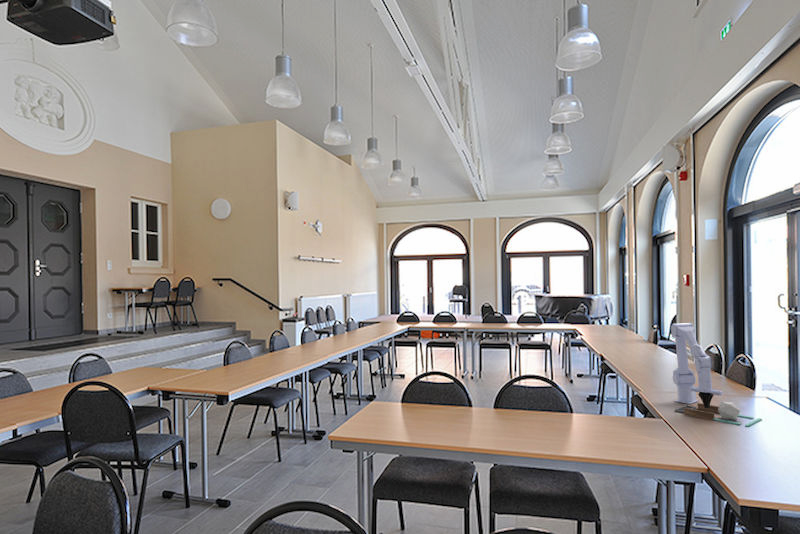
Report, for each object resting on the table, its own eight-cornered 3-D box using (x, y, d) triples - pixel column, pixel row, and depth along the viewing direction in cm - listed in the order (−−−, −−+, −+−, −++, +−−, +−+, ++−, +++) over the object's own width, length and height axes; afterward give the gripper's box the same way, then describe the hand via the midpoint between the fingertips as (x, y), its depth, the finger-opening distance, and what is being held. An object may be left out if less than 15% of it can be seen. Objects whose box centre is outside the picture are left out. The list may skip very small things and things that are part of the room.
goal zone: (727, 413, 226) (727, 412, 226) (761, 420, 214) (761, 418, 214) (713, 420, 218) (713, 418, 218) (748, 426, 206) (748, 425, 206)
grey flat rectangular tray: (686, 407, 241) (686, 405, 241) (696, 408, 237) (696, 406, 237) (674, 411, 235) (674, 409, 235) (685, 413, 230) (684, 411, 230)
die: (739, 418, 220) (724, 400, 226) (748, 414, 213) (732, 395, 218) (725, 425, 220) (710, 407, 225) (733, 421, 213) (717, 402, 218)
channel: (699, 408, 237) (698, 402, 237) (727, 413, 226) (726, 407, 226) (684, 414, 229) (684, 408, 229) (713, 420, 218) (712, 413, 218)
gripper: (685, 379, 232) (687, 406, 231) (717, 384, 219) (719, 412, 219) (692, 377, 235) (694, 403, 235) (724, 381, 223) (726, 409, 223)
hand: (707, 407), depth 227 cm, fingers closed
